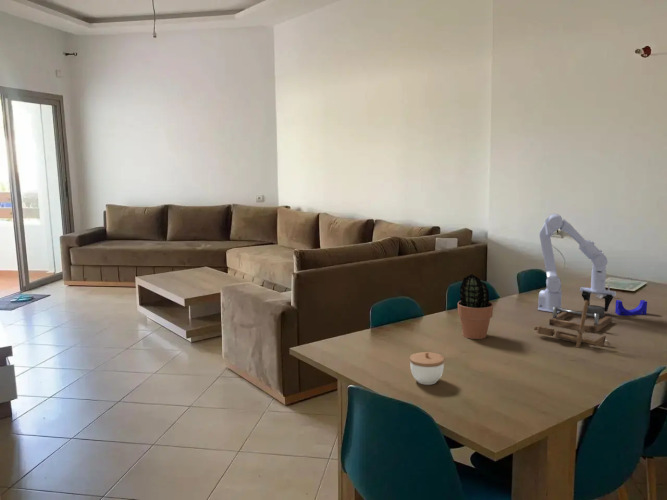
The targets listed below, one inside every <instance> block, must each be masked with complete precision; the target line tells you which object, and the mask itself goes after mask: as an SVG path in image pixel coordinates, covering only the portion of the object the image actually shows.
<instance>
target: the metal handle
mask: <svg viewBox="0 0 667 500" xmlns="http://www.w3.org/2000/svg"><path fill="white" fill-rule="evenodd" d="M557 311H561V313H562V312H568V313H571V314H574V315H581V316H582V313H583V311H576V310H571V309H565V308H563V309H558V308H557V307H553V312H552V318H557V315H558V313H557ZM589 316H593V317H592V318H594V319H593V320H594V321H593V325H598V324H599V321H600V320H599V319H600V317H599V314H597V313H595V314H590V313H587V314H586V317H589Z"/></svg>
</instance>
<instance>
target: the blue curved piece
mask: <svg viewBox="0 0 667 500" xmlns="http://www.w3.org/2000/svg"><path fill="white" fill-rule="evenodd" d="M647 309H648V301H646V300H644V299H641V300H640V301H639V303H638V306H637V307H635V308H632V309H626V307H624V305H623V301H621V300H620V299H616V300H615V309H614V310H615V312H614V313H615V314H617V316H632V315H633V316H634V315H636V316H637V315H639V316H640V315H641V316H643V315H646V316H647V311H648V310H647Z"/></svg>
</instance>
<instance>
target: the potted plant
mask: <svg viewBox="0 0 667 500" xmlns="http://www.w3.org/2000/svg"><path fill="white" fill-rule="evenodd" d="M459 289H460V290H459V301H458V302H457V315H458V316H459V320H460V324H461V325H460V326H461V330H462V334H463V336H464V337H465V338H466V339H471V340H481V339H485V338H486V337H487V334H488V329H489V326H490V322H491V319H492V318H493V314H494V312H493V311H494V304H493V302H491V301H490V294H489V293H490V292H489V289H488V287H487V284H486V283H485V282H482V281H481V278H479V277H478V276H476V275H474V274H473V273H472V274H469V275H468V276H466V277H464V278H463V280H462V283H461V285H460V288H459Z"/></svg>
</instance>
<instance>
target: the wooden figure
mask: <svg viewBox="0 0 667 500" xmlns="http://www.w3.org/2000/svg"><path fill="white" fill-rule="evenodd" d="M588 304H589V301H587V300H585V301H584V304H583V309H582V312H583V313H582V315H581V320H580V322H579V323H580V328H579V329H578V330H577V333H574V332H573V333H572V332H569V331H564V330H560V329H559V330H555V328H552V327H547V326H541V325H538V326H535V327H534V328H533V330H535V331H536V334H540V335H544V336H548V337H551V336H552V337H554V338H556V339H560V340H563V341H568V342H572V343H575V348H578V349H580V347H581V343H585V344H589V345H593V346H597V347H600V348H601V347H605V342H607V341H608V340H607V339H606V337H607V336H606V335H603V336H601V337H599V338H597V339H595V340H594V339H589V338H586V337H583V334H584V333H585V331H584V330H583V328H584V324H585V323H586V319H587V316H586V314H587V309H588Z"/></svg>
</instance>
